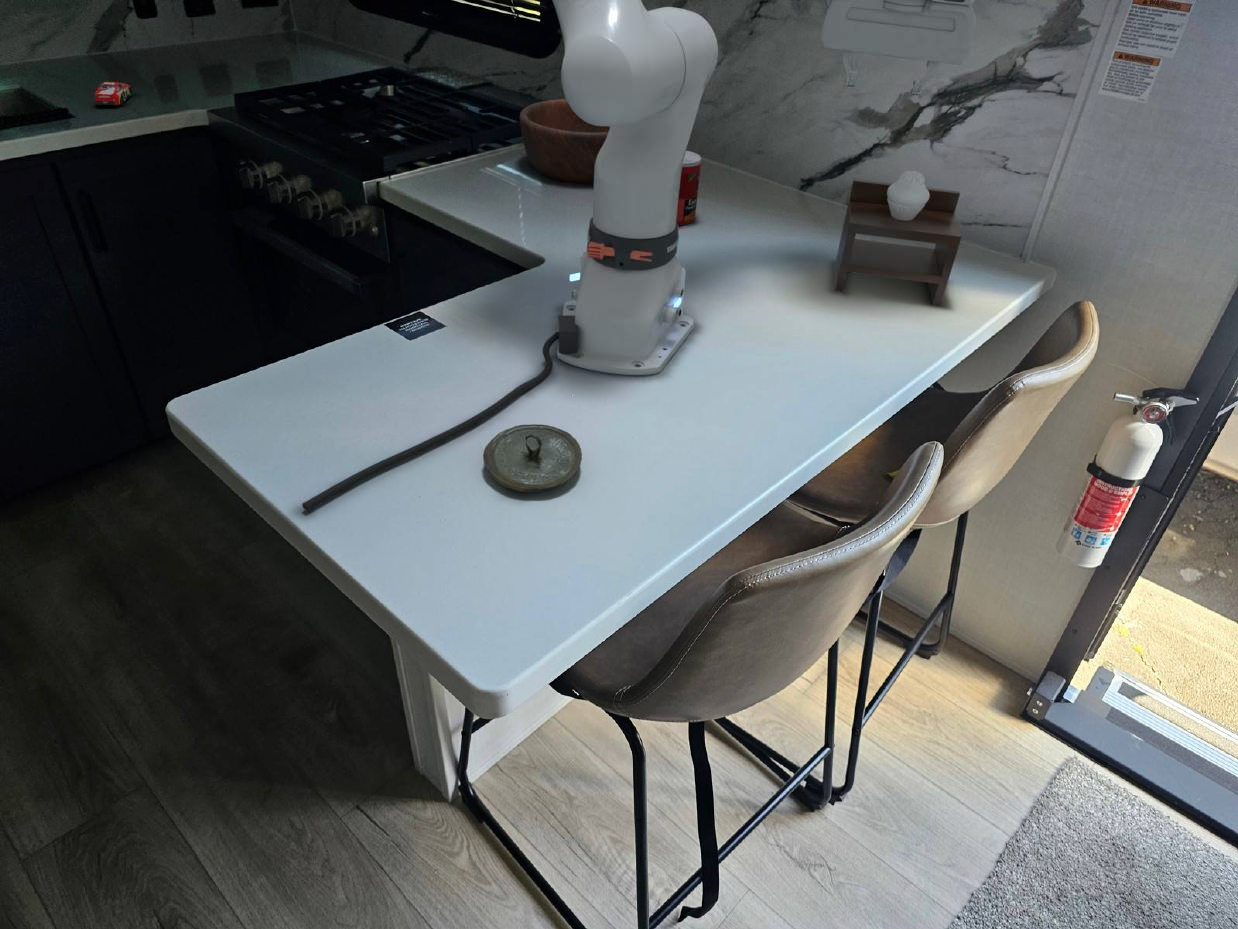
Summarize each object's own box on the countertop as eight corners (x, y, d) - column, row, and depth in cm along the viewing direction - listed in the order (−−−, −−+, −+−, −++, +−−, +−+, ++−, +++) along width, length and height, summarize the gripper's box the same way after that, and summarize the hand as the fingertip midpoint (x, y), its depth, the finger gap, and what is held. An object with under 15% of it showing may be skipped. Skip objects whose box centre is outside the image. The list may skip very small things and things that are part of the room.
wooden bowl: (601, 198, 159) (603, 142, 153) (495, 169, 169) (493, 115, 163) (665, 165, 176) (670, 113, 170) (566, 141, 186) (567, 91, 180)
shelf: (940, 305, 130) (967, 216, 121) (834, 291, 132) (854, 202, 124) (934, 276, 138) (959, 191, 130) (835, 263, 141) (853, 178, 132)
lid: (561, 445, 98) (555, 405, 96) (600, 475, 90) (594, 432, 88) (475, 472, 94) (467, 431, 92) (507, 505, 86) (499, 461, 84)
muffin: (873, 215, 128) (884, 168, 124) (894, 206, 132) (905, 160, 128) (910, 227, 125) (923, 180, 121) (930, 218, 128) (943, 171, 124)
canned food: (692, 228, 150) (698, 165, 143) (647, 222, 151) (652, 159, 144) (697, 212, 156) (704, 151, 149) (654, 207, 157) (659, 146, 150)
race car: (111, 93, 198) (105, 74, 195) (136, 93, 199) (131, 75, 196) (93, 108, 187) (87, 89, 185) (119, 108, 188) (114, 89, 186)
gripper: (829, -27, 112) (808, 85, 120) (990, -9, 109) (956, 104, 117) (831, -33, 117) (810, 75, 125) (984, -16, 114) (953, 93, 122)
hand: (882, 89), depth 121 cm, fingers open, 8 cm apart
